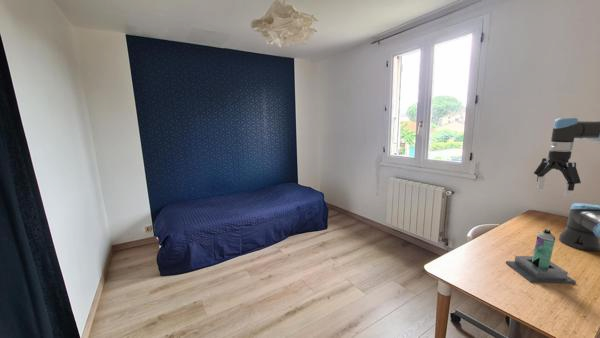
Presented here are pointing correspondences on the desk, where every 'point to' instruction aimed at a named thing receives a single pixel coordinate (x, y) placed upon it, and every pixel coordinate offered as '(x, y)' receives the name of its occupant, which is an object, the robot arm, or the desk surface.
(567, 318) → the desk surface
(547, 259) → the spray can
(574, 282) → the collar
